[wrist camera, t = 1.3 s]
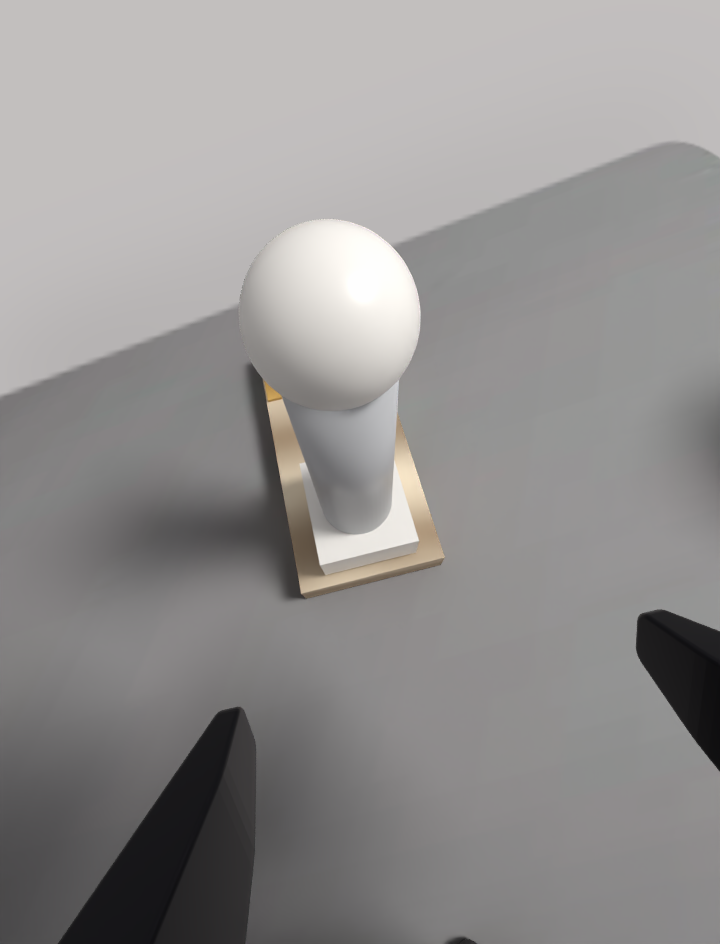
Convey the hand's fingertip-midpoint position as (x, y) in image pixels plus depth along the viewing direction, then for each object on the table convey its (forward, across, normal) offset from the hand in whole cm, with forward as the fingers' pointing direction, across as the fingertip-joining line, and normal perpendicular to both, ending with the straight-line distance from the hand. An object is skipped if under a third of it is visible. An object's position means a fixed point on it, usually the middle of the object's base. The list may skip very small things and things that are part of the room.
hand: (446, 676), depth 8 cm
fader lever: (+14, +1, +3) cm, 14 cm away
